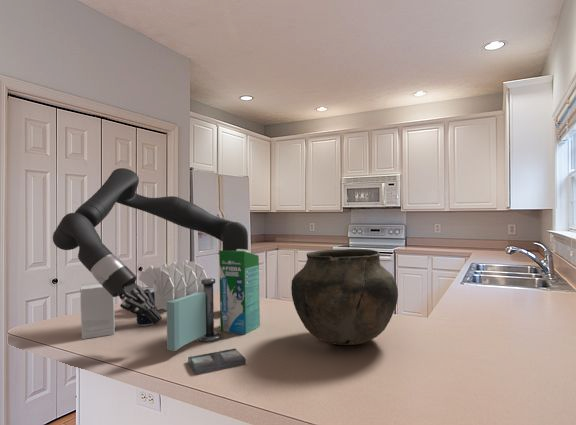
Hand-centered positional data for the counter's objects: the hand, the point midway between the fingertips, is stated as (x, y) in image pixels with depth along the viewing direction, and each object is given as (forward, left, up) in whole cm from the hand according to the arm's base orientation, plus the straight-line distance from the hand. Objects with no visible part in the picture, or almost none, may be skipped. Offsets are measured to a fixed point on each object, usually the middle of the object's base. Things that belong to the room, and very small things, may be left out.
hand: (158, 321), depth 97 cm
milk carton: (-25, -8, -8) cm, 28 cm away
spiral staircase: (-13, -50, -8) cm, 52 cm away
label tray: (-11, +15, -8) cm, 21 cm away
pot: (-46, +18, -8) cm, 50 cm away
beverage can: (+1, -28, -8) cm, 29 cm away
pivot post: (-14, -4, -8) cm, 17 cm away
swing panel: (-7, +2, -6) cm, 10 cm away
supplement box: (+15, -26, -8) cm, 31 cm away
